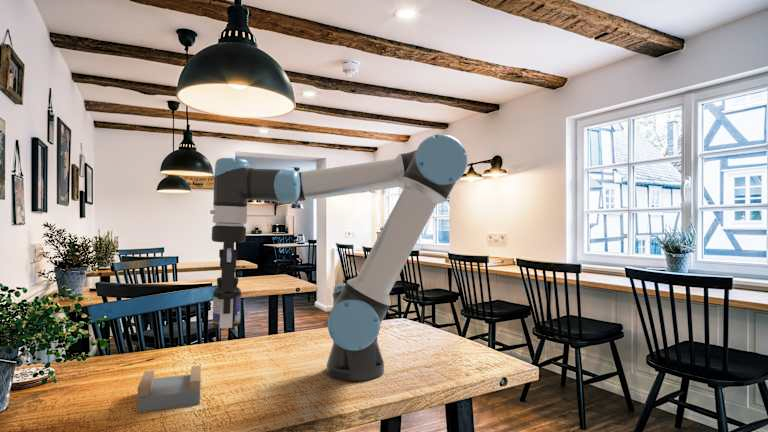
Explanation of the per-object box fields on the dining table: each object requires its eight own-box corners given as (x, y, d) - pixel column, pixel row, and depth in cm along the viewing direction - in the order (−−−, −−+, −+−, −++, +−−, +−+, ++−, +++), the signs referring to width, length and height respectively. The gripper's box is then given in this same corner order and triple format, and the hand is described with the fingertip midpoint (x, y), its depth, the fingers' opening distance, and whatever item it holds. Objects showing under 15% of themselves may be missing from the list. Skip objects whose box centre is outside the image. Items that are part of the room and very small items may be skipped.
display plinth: (200, 385, 109) (200, 364, 109) (199, 404, 98) (199, 381, 98) (144, 392, 105) (145, 370, 105) (137, 412, 94) (137, 388, 94)
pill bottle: (231, 321, 109) (232, 275, 110) (245, 325, 106) (247, 278, 106) (207, 325, 105) (208, 277, 105) (221, 329, 101) (222, 280, 101)
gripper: (212, 223, 113) (208, 316, 113) (211, 225, 95) (207, 335, 95) (243, 224, 116) (240, 315, 115) (249, 226, 98) (244, 333, 97)
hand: (225, 324), depth 105 cm, fingers closed on pill bottle, 6 cm apart
